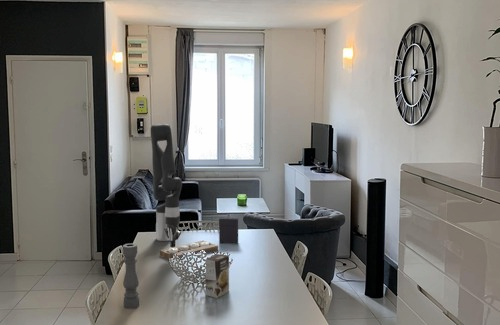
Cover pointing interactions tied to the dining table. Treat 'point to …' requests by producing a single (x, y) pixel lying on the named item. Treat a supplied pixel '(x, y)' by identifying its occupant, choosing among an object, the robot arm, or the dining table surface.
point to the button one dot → (204, 244)
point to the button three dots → (194, 245)
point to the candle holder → (130, 277)
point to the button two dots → (173, 250)
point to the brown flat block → (207, 249)
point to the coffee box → (217, 275)
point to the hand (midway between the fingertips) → (172, 247)
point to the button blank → (184, 248)
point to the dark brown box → (228, 230)
